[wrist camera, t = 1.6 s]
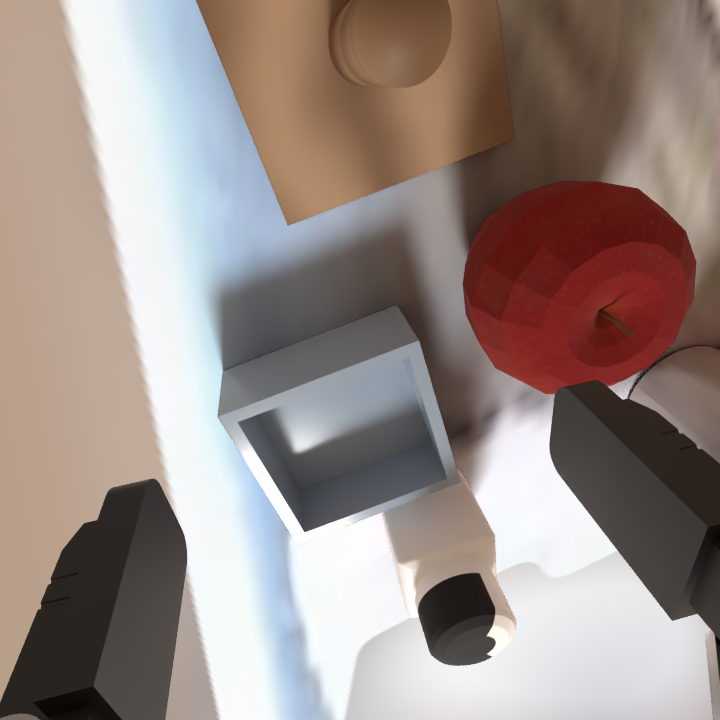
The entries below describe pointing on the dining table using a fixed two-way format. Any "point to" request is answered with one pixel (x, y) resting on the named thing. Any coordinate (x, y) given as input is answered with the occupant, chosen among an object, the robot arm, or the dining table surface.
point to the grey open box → (340, 424)
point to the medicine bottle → (450, 574)
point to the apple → (578, 284)
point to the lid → (361, 90)
